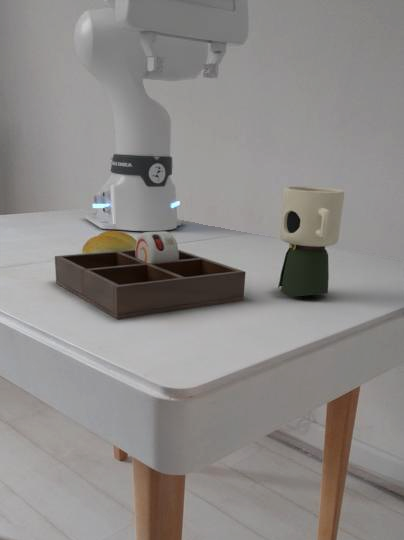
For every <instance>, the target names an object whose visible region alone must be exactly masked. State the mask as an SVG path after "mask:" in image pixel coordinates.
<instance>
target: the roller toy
mask: <svg viewBox="0 0 404 540" xmlns="http://www.w3.org/2000/svg"><path fill="white" fill-rule="evenodd" d="M136 241H137V242H136V248H135V255H136V258H137V259H140V260H142V261H145V262H147V263H154V262H164V261H175V260H179V252H178V250H179V246H178V242H177V239H176V238H175V236H174V235H173V234H172V233H171V232H170V231H167V230H163V231H143V232H142V233H140V235H139V236H138V237H137V239H136Z"/></svg>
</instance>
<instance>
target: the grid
mask: <svg viewBox="0 0 404 540" xmlns="http://www.w3.org/2000/svg"><path fill="white" fill-rule="evenodd" d="M178 252H179V260H175V261H164V262H154V263H147V262H145V261H142V260H140V259H137V258H136V255H135V250H124V251H112V252H100V253H87V254H83V253H77V254H63V255H54V264H55V265H54V268H55V284H57V285H59V286H60V287H61V288H64V289H65V290H67V291H69V292H70V293H72V294H74V295H75V296H77V297H78V298H80V299H82V300H84V301H86V302H87V303H89V304H90V305H92V306H94V307H96V308H97V309H99V310H101V311H102V312H104V313H105V314H107V315H109V316H111V317H112V318H114V319H115V320H122V319H128V318H134V317H135V318H136V317H140V316H147V315H153V314H155V315H156V314H161V313H168V312H174V311H180V310H187V309H193V308H199V307H206V306H212V305H220V304H225V303H232V302H239V301H244V300H245V299H244V298H245V285H246V272H247V271H245V270H241V269H238V268H236V267H233V266H229V265H227V264H224V263H220V262H217V261H214V260H212V259H208V258H205V257H202V256H199V255H197V254H193V253H190V252H187V251H184V250H181V249H178Z"/></svg>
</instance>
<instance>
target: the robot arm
mask: <svg viewBox="0 0 404 540" xmlns="http://www.w3.org/2000/svg"><path fill="white" fill-rule="evenodd" d="M102 2H103V3H104V5H105V8H96V9H95V8H94V9H87V10H85V11H84V12H82V14H81V16H80V17H79V18H78V20H77V22H76V24H75V26H74V32H73V46H74V51H75V54H76V56H77V59H78V60H79V62H80V63H81V65H82V67H84V69H86V70H87V71H88V72H89V73H90V74H91V75H92V76H93V77H94V78H95V79H96V80H97V82H98V83H99V85H100V86H101V88H102V89H103V91H104V94H105V95H106V97H107V99H108V102H109V105H110V109H111V112H112V113H111V114H112V119H113V131H114V153H113V155H112V157H110V160H111V161H110V164H111V166H110V172H111V174H110V176H109V177H108V179H107V180H106V181H105V182H104V184H103V185H102V186H101V188H100V189H99V190H98V191H97V193H95V194H94V195H93V203H92V208H93V209H96V212H95V213H88V214H86V215H85V219H86V220H87V221H88V222H90V223H92V224H93V225H95V226H97V227H98V228H99V229H102V230H119V231H120V230H121V231H131V232H133V231H134V232H162V231H170V230H174V229H177V228H178V226H181V225H182V220H181V219H179V218H178V206H179V205H180V204H181V203H180V200H178V201H177V189H176V185H175V184H174V183H173V181H172V177H171V176H172V175H173V168H174V164H173V157H172V156H171V137H172V136H171V134H172V133H171V131H172V120H171V116H170V114H169V111H167V109H166V108H165V107H164V106H163V105H162V104H161V103H160V102H158V101H156V100H154V99H153V98H151V97H150V95H148V93H147V90H146V89H145V86H144V80H149V81H150V80H153V81H162V82H163V81H164V82H180V81H187V80H193V79H196V78H198V77H199V76H200V75H201V73H202V75H203V78H204V79H205V78H207V79H217V78H218V77H219V65H220V64H221V62H222V61H223V59H224V56H225V55H226V53H227V47H240V46H243V45H244V44H246V42H247V40H248V37H249V3H248V0H103V1H102ZM209 44H210V45H209ZM209 51H210V53H212V54H211V57H210V59H209V61H208V58H209ZM207 61H208V63H207Z"/></svg>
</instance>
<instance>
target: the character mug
mask: <svg viewBox="0 0 404 540" xmlns="http://www.w3.org/2000/svg"><path fill="white" fill-rule="evenodd" d="M282 199H283V201H282V211H281V223H280V231H279V237H280V241H282V242H284V243H286V244H289V247H288V249H287V251H286V252H285V255H284V260H283V263H282V267H281V272H280V276H279V282H278V287H277V289H278V290H279V289H280V292H281V293H284V294H286V295H289V296H290V295H291V296H296V297H302V296H303V297H304V298H305V299H308V298H309V296H313V295H324V294H328V292H329V279H330V278H329V276H330V274H329V273H330V272H329V253H328V251H327V249H326V247H329V246H335V245H336V244H338V242H339V237H340V231H341V223H342V214H343V206H344V199H345V191H344V190H342V189H337V188H330V187H320V186H319V187H317V186H286V187H284V190H283V198H282Z"/></svg>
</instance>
